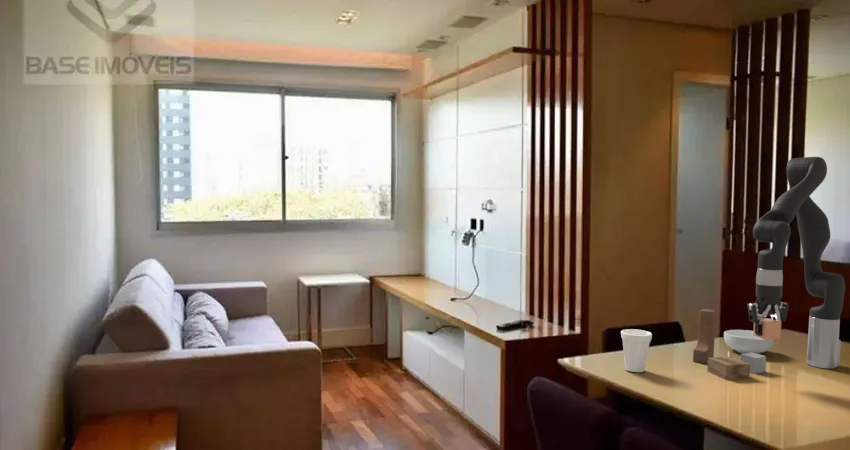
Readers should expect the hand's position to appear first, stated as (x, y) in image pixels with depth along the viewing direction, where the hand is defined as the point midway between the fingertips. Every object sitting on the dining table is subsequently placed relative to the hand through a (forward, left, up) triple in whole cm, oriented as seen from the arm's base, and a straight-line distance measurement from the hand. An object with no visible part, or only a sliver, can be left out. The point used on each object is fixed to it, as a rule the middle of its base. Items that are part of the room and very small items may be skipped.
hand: (766, 334), depth 209 cm
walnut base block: (+7, -8, -15) cm, 19 cm away
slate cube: (-5, -11, -15) cm, 20 cm away
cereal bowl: (-21, -33, -15) cm, 42 cm away
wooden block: (+4, -25, -15) cm, 30 cm away
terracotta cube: (0, 0, -1) cm, 1 cm away
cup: (+36, -17, -15) cm, 43 cm away
